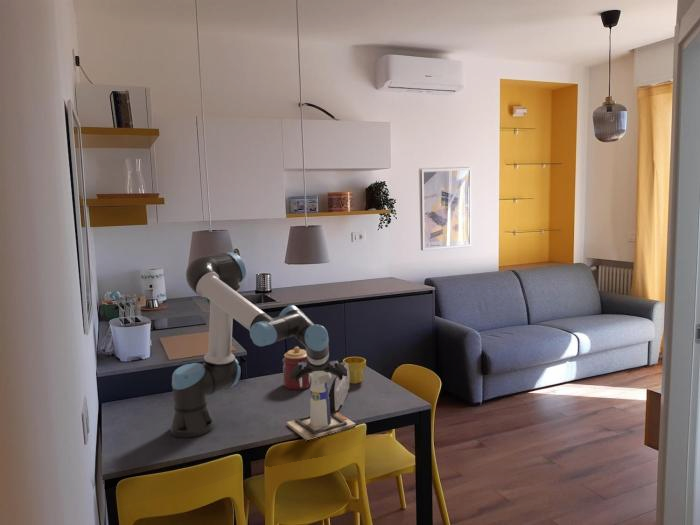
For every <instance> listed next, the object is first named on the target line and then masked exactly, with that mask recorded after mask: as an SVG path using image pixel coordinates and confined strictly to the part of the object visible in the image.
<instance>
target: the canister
mask: <svg viewBox="0 0 700 525" xmlns="http://www.w3.org/2000/svg"><path fill="white" fill-rule="evenodd" d="M283 356H284V357H283V358H282V359H281V360H282V363H283V366H282V371H283V381H282V382H283V386H284V388H286V389H288V390H295V391H296V390H298V391H299V390H304V389H308V388H310V387H311V379H310V383H309V373H308V374H306V375H304V376H303V377H302V387H300V383H299V382H297V381H296V378H293V379H291V371H292V370H293V369H294V367H295V366H296V365H297V364H298V362H299V360H301V361H302V362H303V363H306V362H307V354H306V349H302V348H300V347H299V346H294V347H293V349H290V350H288V351H287V352H285V353H284V354H283Z"/></svg>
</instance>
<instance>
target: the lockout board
mask: <svg viewBox="0 0 700 525" xmlns="http://www.w3.org/2000/svg"><path fill="white" fill-rule="evenodd" d="M330 417H331V424H330V425H328V426H325V427H314V426H312V425H311V424H310V414H308V415H305V416H302V417H297V418H295V419H293V420H290V421H287V422H286V426H287V427H289V428H290V429H291V430H293V431H294V432H295V433H296V434H297V435H299V436H300V437H301V438H303V439H304V440H305V439H310V438H314V437H319V436H323V435H326V436H329V435H328V434H330V435H332V433H333V434H336V433H340V432H343V431H346V430H349V429H352V428H351V427H353V426H355V427H356V422H354V421H352V420H350V419H349V418H347V417H346V416H344V414H341V413H340V412H338V411H335V410H330ZM348 428H349V429H348ZM353 428H354V427H353ZM345 429H346V430H345ZM342 430H343V431H342ZM335 432H336V433H335ZM323 437H324V436H323Z"/></svg>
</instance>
